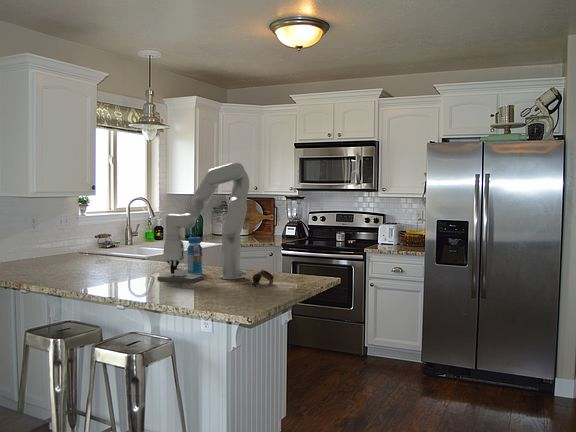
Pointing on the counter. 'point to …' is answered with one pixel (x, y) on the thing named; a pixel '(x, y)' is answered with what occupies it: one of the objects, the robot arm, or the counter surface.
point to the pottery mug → (265, 274)
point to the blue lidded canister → (194, 256)
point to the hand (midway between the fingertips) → (173, 273)
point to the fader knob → (180, 272)
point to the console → (180, 278)
